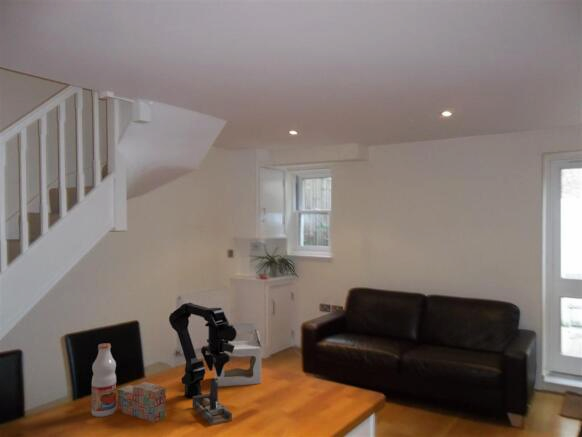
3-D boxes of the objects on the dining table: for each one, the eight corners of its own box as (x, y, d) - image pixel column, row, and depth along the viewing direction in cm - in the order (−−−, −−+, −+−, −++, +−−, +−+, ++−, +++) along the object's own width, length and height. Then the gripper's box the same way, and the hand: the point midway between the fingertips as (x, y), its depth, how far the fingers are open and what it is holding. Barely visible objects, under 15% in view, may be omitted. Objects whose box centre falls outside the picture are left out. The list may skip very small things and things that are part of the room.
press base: (192, 407, 199) (192, 396, 199) (212, 403, 204) (212, 392, 204) (210, 425, 181) (210, 413, 181) (231, 420, 186) (231, 409, 186)
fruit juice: (102, 406, 199) (102, 340, 199) (120, 409, 196) (121, 342, 196) (86, 415, 190) (86, 346, 190) (105, 418, 187) (106, 348, 187)
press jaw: (204, 411, 191) (204, 379, 191) (218, 408, 194) (218, 377, 194) (209, 416, 186) (209, 383, 187) (223, 413, 190) (223, 380, 190)
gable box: (257, 375, 242) (258, 320, 242) (261, 383, 229) (262, 326, 229) (214, 377, 237) (214, 322, 237) (215, 386, 224) (216, 328, 224)
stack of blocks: (116, 411, 194) (117, 382, 194) (128, 406, 199) (129, 377, 200) (154, 423, 183) (154, 391, 184) (165, 417, 189) (166, 386, 189)
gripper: (241, 339, 199) (240, 376, 199) (223, 331, 215) (223, 365, 215) (216, 343, 194) (216, 381, 194) (200, 334, 210) (200, 368, 210)
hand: (214, 373), depth 203 cm, fingers open, 9 cm apart
